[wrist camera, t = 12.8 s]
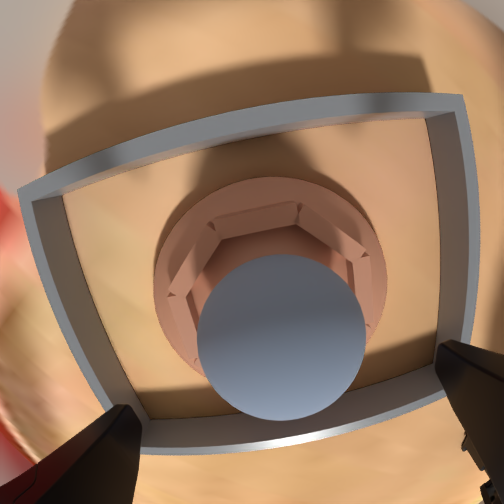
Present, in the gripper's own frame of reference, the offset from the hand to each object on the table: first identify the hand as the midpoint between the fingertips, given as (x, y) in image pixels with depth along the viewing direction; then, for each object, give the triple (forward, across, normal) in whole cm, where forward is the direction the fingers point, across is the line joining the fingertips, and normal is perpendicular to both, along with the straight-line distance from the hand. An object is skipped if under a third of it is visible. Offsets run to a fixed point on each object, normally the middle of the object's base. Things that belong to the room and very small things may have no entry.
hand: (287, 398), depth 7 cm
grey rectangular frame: (+7, 0, 0) cm, 7 cm away
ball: (+3, 0, 0) cm, 3 cm away
